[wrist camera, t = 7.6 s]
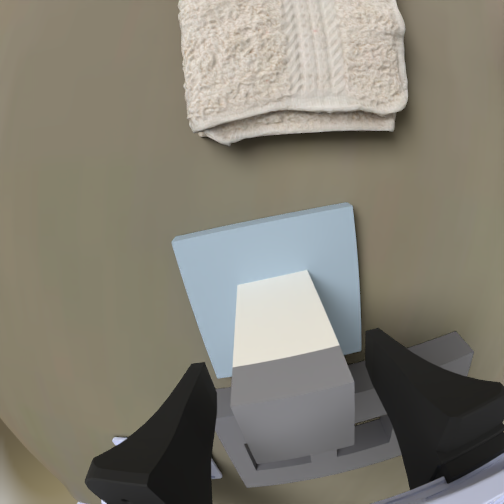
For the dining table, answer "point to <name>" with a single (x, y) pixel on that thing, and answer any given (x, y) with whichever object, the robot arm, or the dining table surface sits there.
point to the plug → (289, 372)
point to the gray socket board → (366, 435)
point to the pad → (272, 271)
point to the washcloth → (291, 66)
